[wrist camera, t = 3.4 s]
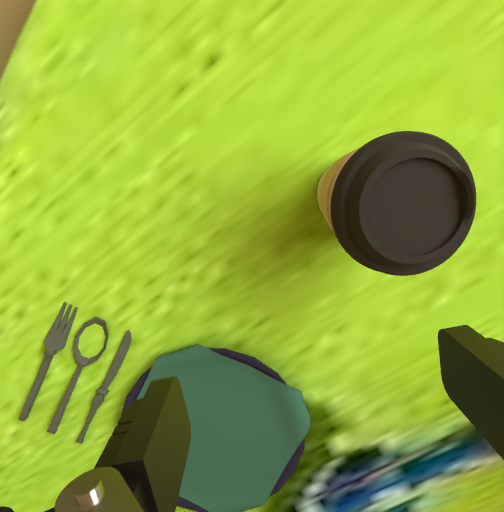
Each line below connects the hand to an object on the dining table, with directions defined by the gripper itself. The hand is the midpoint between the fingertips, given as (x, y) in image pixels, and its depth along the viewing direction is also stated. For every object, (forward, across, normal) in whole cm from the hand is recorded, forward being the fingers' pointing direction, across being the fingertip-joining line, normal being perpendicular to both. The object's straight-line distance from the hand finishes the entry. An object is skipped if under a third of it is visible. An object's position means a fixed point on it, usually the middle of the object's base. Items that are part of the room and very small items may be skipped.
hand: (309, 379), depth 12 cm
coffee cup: (+27, -8, -2) cm, 28 cm away
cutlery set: (+27, +14, +17) cm, 35 cm away
